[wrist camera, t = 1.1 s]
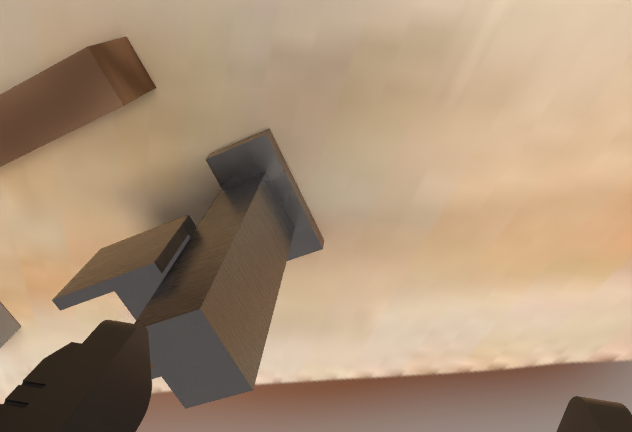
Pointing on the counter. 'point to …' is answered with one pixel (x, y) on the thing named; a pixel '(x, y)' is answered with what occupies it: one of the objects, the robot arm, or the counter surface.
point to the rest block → (6, 325)
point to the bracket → (210, 274)
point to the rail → (70, 96)
